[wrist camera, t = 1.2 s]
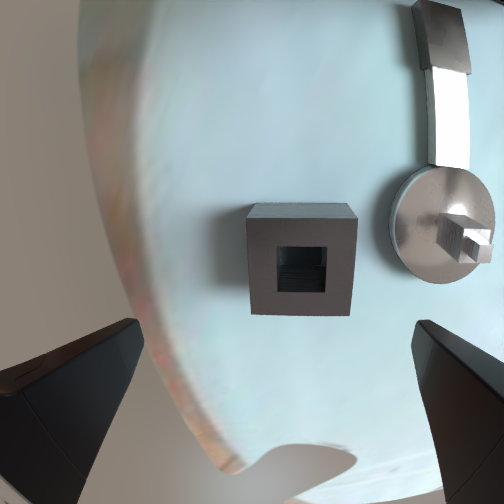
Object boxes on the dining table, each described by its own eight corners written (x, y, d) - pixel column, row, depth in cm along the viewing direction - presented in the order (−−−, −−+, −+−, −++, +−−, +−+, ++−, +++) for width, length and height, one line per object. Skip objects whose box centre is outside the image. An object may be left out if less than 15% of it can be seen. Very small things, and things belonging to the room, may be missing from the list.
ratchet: (476, 24, 13) (522, 0, 7) (473, 272, 20) (514, 314, 13) (379, 1, 14) (405, -42, 8) (383, 273, 21) (409, 323, 15)
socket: (347, 203, 19) (357, 218, 16) (342, 286, 22) (349, 316, 18) (256, 203, 20) (245, 218, 17) (259, 285, 22) (251, 314, 19)
